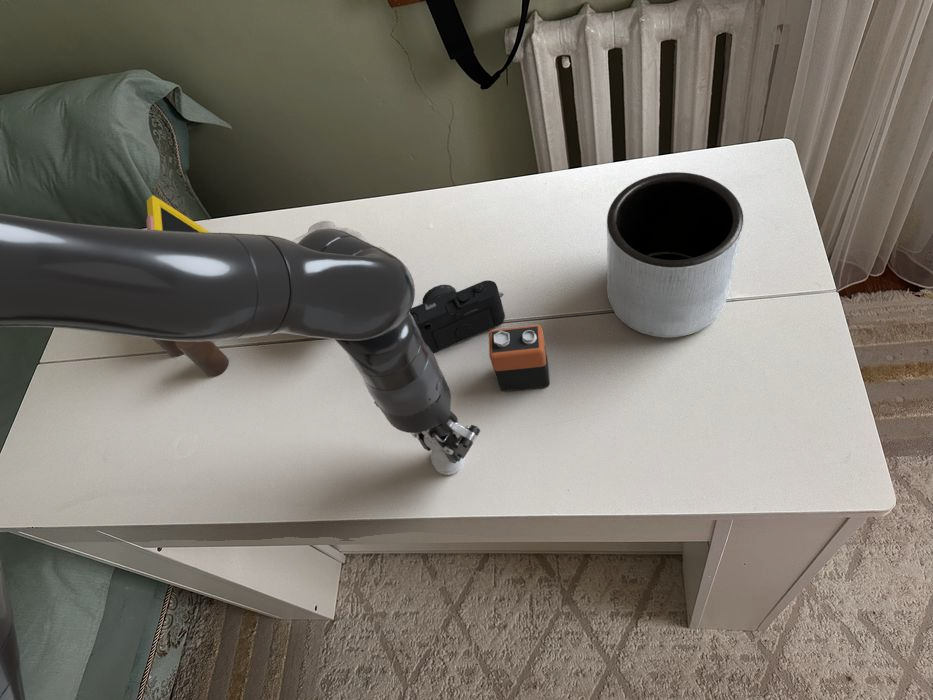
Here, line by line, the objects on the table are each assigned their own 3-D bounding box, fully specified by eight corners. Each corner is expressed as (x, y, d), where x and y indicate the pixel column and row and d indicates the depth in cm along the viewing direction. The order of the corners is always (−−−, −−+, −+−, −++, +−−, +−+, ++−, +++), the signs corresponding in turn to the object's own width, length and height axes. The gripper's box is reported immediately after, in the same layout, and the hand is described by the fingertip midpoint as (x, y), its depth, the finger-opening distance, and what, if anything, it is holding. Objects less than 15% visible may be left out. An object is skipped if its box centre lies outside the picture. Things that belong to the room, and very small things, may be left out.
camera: (495, 288, 95) (486, 253, 89) (513, 323, 91) (505, 289, 85) (408, 325, 95) (392, 292, 88) (422, 361, 91) (406, 330, 84)
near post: (217, 380, 96) (187, 352, 90) (199, 371, 98) (169, 343, 92) (233, 360, 98) (206, 331, 91) (216, 351, 100) (188, 322, 93)
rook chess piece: (466, 475, 80) (452, 449, 73) (432, 477, 81) (415, 451, 74) (467, 442, 82) (453, 415, 76) (433, 445, 83) (417, 417, 76)
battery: (499, 365, 88) (487, 324, 79) (548, 360, 86) (540, 318, 78) (500, 392, 85) (487, 353, 77) (550, 388, 84) (543, 347, 76)
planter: (714, 353, 82) (731, 278, 69) (593, 328, 88) (589, 255, 75) (735, 261, 89) (755, 177, 76) (623, 243, 95) (624, 163, 82)
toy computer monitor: (240, 331, 101) (185, 268, 88) (195, 350, 101) (132, 289, 88) (226, 249, 112) (176, 183, 99) (185, 266, 112) (129, 201, 99)
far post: (179, 360, 100) (148, 332, 94) (163, 351, 102) (131, 323, 95) (195, 341, 102) (166, 312, 95) (179, 333, 103) (150, 304, 97)
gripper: (333, 386, 66) (383, 452, 80) (444, 439, 60) (477, 500, 74) (373, 332, 69) (415, 405, 83) (482, 377, 63) (507, 447, 77)
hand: (444, 449), depth 79 cm, fingers closed on rook chess piece, 3 cm apart
